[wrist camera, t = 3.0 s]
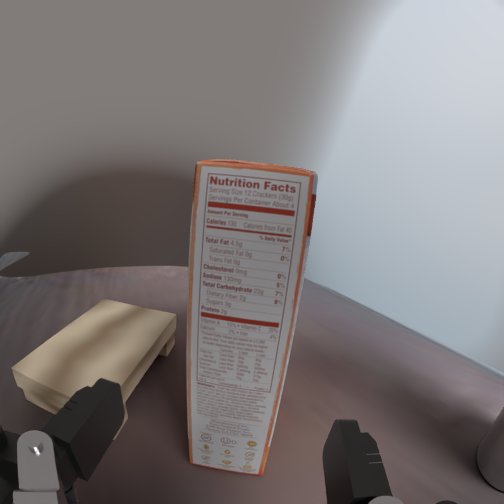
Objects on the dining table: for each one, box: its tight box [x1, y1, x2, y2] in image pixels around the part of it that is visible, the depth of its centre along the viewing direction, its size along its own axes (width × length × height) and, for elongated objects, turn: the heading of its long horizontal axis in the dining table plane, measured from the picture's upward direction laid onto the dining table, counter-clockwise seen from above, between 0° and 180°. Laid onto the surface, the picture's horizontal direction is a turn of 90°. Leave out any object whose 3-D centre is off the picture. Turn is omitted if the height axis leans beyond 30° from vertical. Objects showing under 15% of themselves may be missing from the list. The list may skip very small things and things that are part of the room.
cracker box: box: [186, 159, 318, 476], centre depth 22 cm, size 14×6×21 cm, turn 174°
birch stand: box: [12, 299, 176, 440], centre depth 26 cm, size 10×18×4 cm, turn 175°
